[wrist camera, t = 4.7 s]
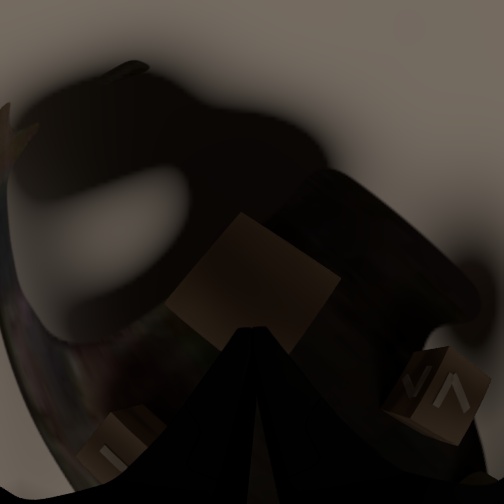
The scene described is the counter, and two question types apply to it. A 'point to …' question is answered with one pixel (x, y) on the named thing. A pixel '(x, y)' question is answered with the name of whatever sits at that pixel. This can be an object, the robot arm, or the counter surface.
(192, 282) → the plain walnut block
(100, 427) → the walnut cube
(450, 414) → the walnut cube
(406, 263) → the counter surface
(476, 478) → the cork
